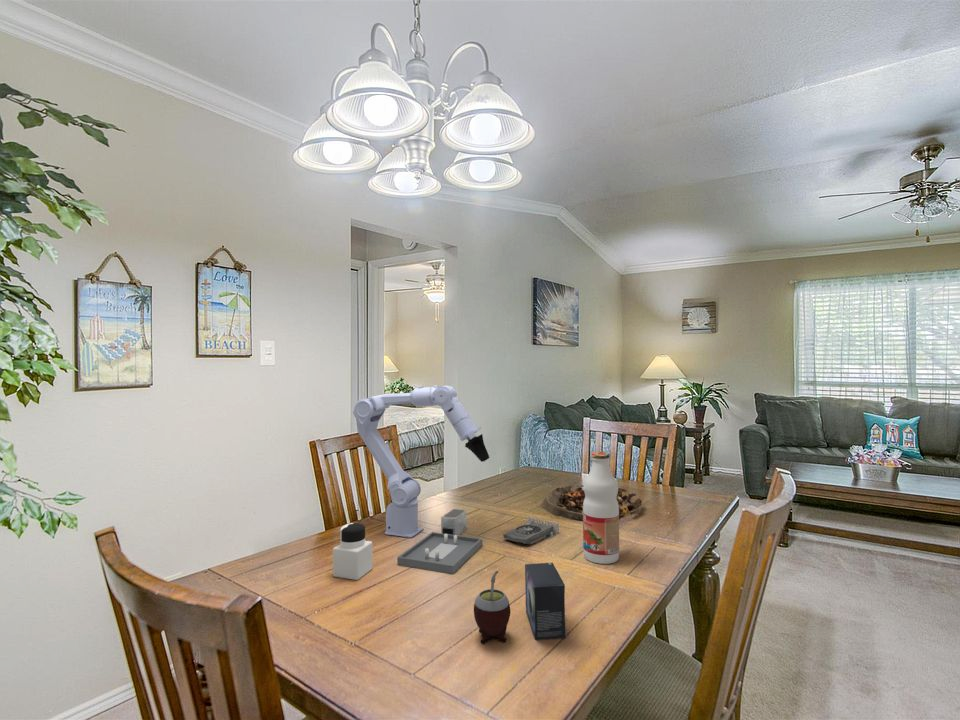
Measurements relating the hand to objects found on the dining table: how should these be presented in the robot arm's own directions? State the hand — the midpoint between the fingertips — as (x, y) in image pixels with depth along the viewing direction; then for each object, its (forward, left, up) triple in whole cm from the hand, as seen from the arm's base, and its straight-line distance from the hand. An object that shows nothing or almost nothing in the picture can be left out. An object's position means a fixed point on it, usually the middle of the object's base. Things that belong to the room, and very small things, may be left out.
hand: (485, 460), depth 147 cm
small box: (+28, -40, -24) cm, 54 cm away
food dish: (+24, +42, -24) cm, 54 cm away
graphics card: (+11, +7, -24) cm, 27 cm away
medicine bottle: (-23, -33, -24) cm, 47 cm away
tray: (-7, -15, -24) cm, 29 cm away
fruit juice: (+34, -2, -24) cm, 41 cm away
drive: (-11, +2, -24) cm, 27 cm away
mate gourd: (+20, -48, -24) cm, 57 cm away
